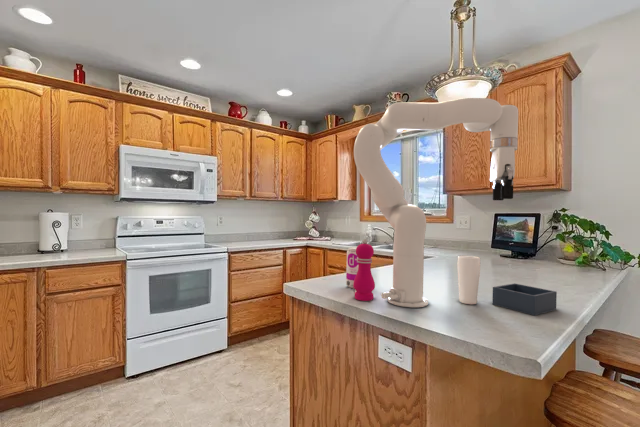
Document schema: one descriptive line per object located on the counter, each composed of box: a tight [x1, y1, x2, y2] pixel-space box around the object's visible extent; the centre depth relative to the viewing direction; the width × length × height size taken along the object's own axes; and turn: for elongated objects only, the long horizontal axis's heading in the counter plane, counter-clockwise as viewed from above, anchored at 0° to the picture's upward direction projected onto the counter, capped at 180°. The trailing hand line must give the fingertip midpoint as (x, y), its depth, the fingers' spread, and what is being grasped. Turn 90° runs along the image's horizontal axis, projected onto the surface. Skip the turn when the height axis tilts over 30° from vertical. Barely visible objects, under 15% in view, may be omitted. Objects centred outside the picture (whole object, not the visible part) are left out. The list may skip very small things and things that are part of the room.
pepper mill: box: [353, 238, 376, 302], centre depth 106 cm, size 7×7×20 cm
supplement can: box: [345, 246, 358, 289], centre depth 123 cm, size 8×8×15 cm
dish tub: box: [491, 283, 558, 316], centre depth 99 cm, size 13×13×6 cm
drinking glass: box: [456, 255, 481, 305], centre depth 103 cm, size 7×7×15 cm
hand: (502, 199), depth 100 cm, fingers open, 9 cm apart
